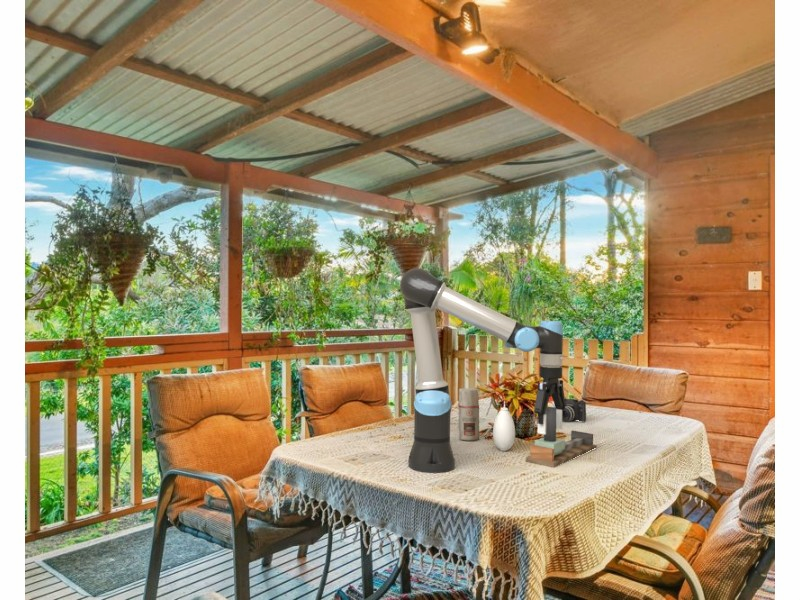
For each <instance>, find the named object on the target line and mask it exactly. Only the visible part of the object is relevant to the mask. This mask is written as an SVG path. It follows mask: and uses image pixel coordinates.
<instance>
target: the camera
mask: <svg viewBox="0 0 800 600" xmlns="http://www.w3.org/2000/svg"><path fill="white" fill-rule="evenodd" d="M564 397H565V403H566V406H565V410H562V422H572V420H579V421H587V408H586V407H587V404H586V401H584V400H583V399H580V400H579V399H578V398H567V397H566V396H564Z"/></svg>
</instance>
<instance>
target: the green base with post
mask: <svg viewBox="0 0 800 600" xmlns="http://www.w3.org/2000/svg"><path fill="white" fill-rule="evenodd" d="M545 414H546V434H543V437H540V438H538V439H535V440H534V445H537V446H542V447H547V448H552V449H554V455H556V454H559V453H561V452H562V450H564V449H565V442H566V440H565V439H561V438H557V428H556V408H555V406H547V408H546V411H545Z"/></svg>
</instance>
